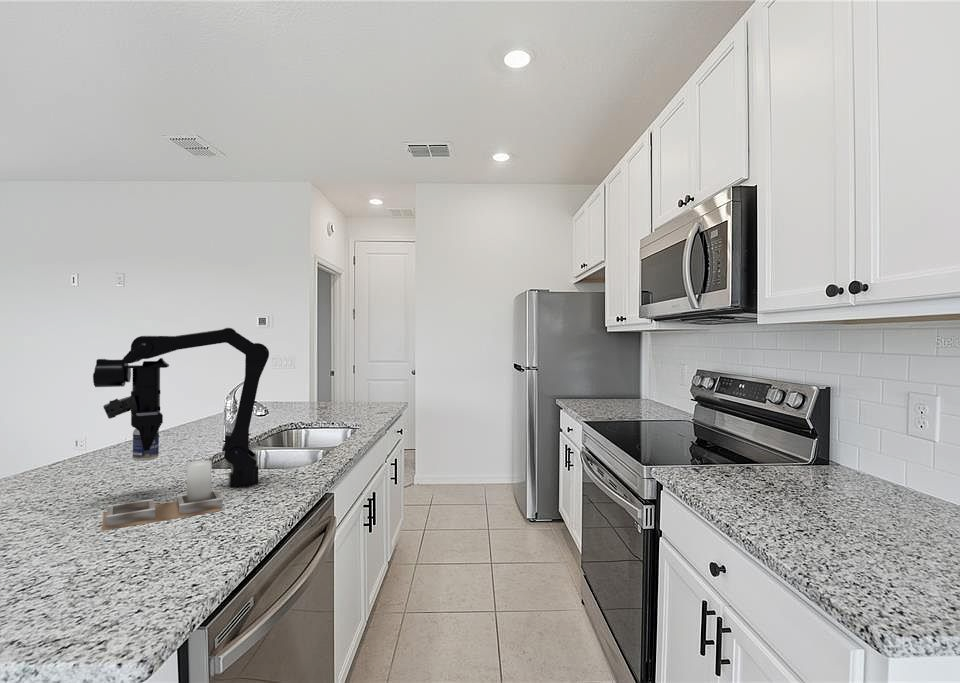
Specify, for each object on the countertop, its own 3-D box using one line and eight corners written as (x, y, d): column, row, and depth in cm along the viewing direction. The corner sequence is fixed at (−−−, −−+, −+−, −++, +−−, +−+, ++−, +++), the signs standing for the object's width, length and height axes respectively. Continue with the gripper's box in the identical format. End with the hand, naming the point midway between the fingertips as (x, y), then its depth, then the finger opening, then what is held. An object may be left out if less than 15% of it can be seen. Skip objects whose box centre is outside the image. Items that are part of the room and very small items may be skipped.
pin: (209, 500, 120) (210, 459, 120) (212, 506, 116) (212, 463, 116) (185, 504, 117) (186, 462, 117) (187, 510, 113) (188, 466, 113)
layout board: (215, 501, 124) (215, 487, 124) (223, 516, 114) (223, 501, 114) (103, 518, 112) (103, 503, 112) (100, 538, 101) (101, 521, 101)
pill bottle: (145, 461, 121) (145, 421, 121) (127, 460, 122) (127, 420, 122) (164, 456, 127) (164, 418, 127) (146, 455, 128) (146, 417, 128)
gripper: (107, 384, 127) (107, 445, 128) (104, 391, 112) (103, 460, 112) (159, 382, 134) (159, 440, 134) (163, 388, 119) (162, 454, 119)
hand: (146, 448), depth 125 cm, fingers closed on pill bottle, 5 cm apart
